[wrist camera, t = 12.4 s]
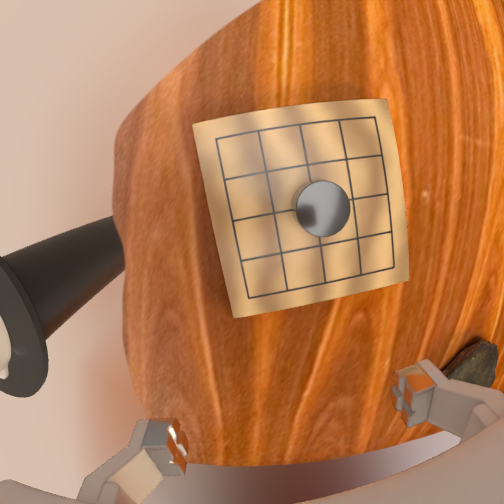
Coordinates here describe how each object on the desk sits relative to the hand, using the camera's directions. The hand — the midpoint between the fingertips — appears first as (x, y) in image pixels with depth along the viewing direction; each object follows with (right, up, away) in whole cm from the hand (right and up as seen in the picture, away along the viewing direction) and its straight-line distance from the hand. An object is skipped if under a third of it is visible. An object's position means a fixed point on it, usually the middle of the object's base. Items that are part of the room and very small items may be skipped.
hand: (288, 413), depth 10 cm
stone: (+31, -13, +27) cm, 43 cm away
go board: (+5, +11, +20) cm, 23 cm away
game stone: (+5, +10, +19) cm, 22 cm away
